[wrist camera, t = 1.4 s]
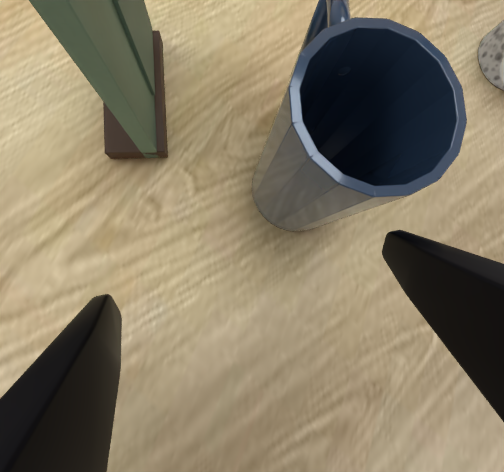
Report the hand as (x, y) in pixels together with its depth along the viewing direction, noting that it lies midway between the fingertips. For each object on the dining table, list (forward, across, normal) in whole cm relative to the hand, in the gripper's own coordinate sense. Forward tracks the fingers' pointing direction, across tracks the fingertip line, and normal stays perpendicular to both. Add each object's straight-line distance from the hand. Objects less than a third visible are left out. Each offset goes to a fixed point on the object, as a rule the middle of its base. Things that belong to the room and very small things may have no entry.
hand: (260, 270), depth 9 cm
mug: (+15, -7, +3) cm, 17 cm away
